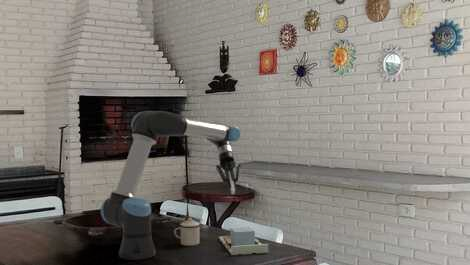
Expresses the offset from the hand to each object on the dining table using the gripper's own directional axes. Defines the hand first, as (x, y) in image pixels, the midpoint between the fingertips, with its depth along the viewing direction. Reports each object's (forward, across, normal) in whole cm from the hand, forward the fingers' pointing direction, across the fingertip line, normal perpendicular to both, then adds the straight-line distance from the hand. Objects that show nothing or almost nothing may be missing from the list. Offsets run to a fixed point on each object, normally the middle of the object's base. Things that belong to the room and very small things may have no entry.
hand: (233, 192), depth 246 cm
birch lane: (+29, 0, -1) cm, 29 cm away
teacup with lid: (+21, +24, -9) cm, 33 cm away
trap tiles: (+22, 0, -8) cm, 23 cm away
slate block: (+29, 0, -2) cm, 29 cm away
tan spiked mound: (-4, +19, -36) cm, 41 cm away
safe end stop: (+38, 0, +8) cm, 39 cm away
